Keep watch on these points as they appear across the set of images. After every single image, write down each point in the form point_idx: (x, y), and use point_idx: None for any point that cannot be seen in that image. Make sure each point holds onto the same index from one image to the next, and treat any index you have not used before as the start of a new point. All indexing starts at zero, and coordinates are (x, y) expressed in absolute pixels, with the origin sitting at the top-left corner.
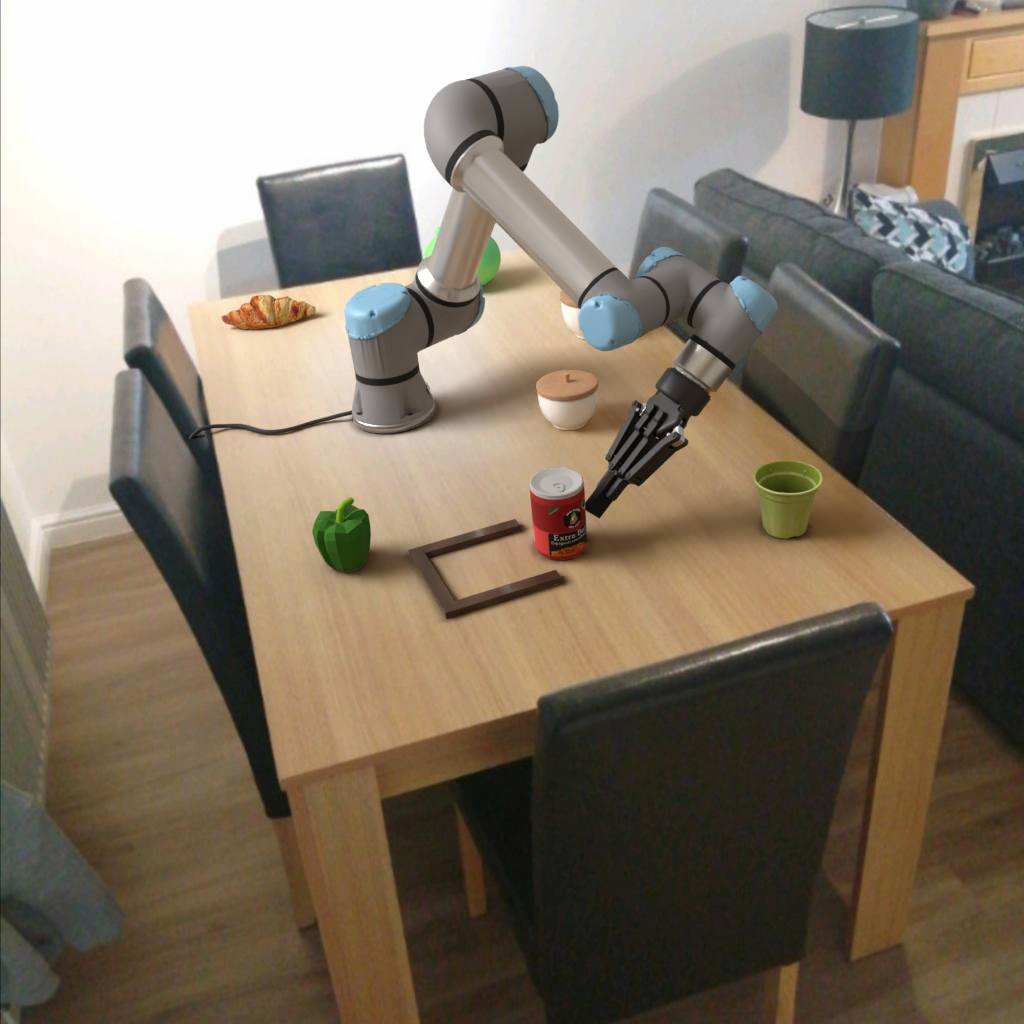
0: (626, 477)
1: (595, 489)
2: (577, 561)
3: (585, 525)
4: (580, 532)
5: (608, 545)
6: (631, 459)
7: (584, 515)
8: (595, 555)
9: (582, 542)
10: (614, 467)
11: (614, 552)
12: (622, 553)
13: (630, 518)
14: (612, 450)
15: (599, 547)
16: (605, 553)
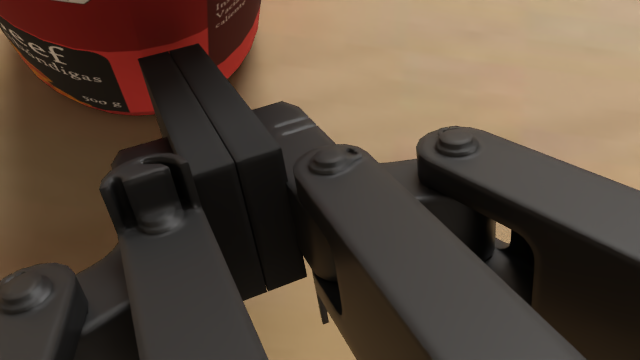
0: (25, 270)
1: (227, 83)
2: (3, 66)
3: (55, 55)
4: (2, 25)
5: (97, 212)
6: (178, 350)
7: (25, 13)
8: (29, 145)
9: (33, 66)
10: (301, 190)
11: (29, 232)
12: (9, 269)
13: (311, 345)
14: (504, 174)
15: (91, 171)
16: (32, 190)
